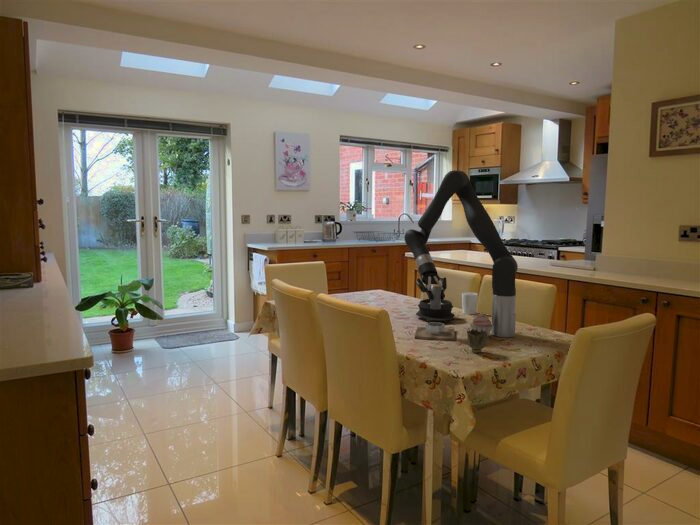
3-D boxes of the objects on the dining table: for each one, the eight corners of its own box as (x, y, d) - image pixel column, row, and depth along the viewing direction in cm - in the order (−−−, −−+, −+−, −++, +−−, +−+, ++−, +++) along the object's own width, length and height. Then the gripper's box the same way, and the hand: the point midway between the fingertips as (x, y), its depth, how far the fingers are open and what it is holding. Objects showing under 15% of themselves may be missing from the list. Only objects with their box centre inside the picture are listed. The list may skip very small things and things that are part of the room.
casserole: (462, 324, 223) (462, 306, 222) (422, 325, 222) (423, 307, 221) (446, 312, 248) (446, 296, 247) (410, 313, 246) (411, 297, 245)
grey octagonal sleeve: (444, 330, 207) (444, 322, 207) (444, 335, 200) (444, 327, 200) (426, 329, 209) (426, 321, 209) (425, 334, 202) (425, 326, 201)
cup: (464, 353, 178) (464, 332, 177) (469, 348, 185) (469, 328, 184) (484, 356, 175) (485, 335, 174) (488, 351, 181) (489, 330, 180)
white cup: (458, 312, 248) (458, 293, 247) (470, 310, 252) (471, 291, 250) (468, 315, 241) (468, 295, 240) (480, 313, 244) (481, 294, 243)
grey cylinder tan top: (440, 307, 205) (441, 284, 204) (440, 309, 201) (441, 285, 200) (430, 306, 206) (430, 283, 205) (429, 309, 202) (430, 285, 200)
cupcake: (482, 340, 196) (483, 316, 195) (465, 335, 204) (465, 312, 203) (497, 336, 201) (498, 313, 200) (480, 332, 209) (480, 309, 208)
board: (454, 331, 211) (454, 328, 211) (454, 340, 195) (454, 338, 195) (417, 329, 214) (417, 326, 214) (414, 338, 198) (414, 336, 198)
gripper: (413, 261, 206) (424, 294, 196) (443, 261, 210) (456, 293, 200) (408, 272, 212) (419, 305, 202) (438, 271, 216) (450, 303, 206)
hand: (437, 299), depth 201 cm, fingers closed on grey cylinder tan top, 4 cm apart
